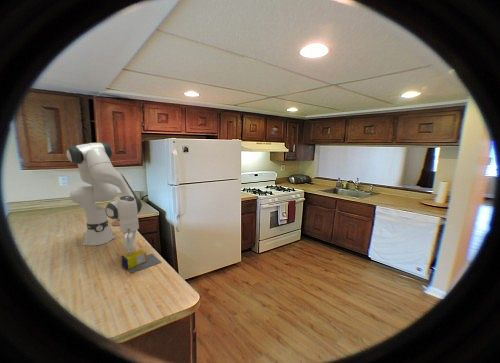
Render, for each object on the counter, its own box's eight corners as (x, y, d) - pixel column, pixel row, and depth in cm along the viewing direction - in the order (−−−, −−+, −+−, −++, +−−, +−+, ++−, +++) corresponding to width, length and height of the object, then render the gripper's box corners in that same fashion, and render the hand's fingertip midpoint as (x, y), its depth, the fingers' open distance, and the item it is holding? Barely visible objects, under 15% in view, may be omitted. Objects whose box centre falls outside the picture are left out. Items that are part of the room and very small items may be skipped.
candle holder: (114, 222, 192) (112, 199, 189) (130, 220, 196) (128, 198, 193) (110, 227, 181) (107, 203, 178) (127, 225, 185) (125, 201, 181)
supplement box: (121, 265, 122) (142, 258, 131) (126, 269, 118) (146, 261, 127) (121, 255, 121) (141, 248, 130) (125, 259, 118) (146, 252, 126)
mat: (123, 263, 126) (123, 262, 126) (152, 253, 137) (152, 253, 137) (130, 273, 116) (130, 272, 116) (161, 262, 127) (161, 262, 127)
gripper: (134, 232, 111) (136, 258, 113) (137, 219, 130) (139, 242, 132) (119, 234, 109) (122, 260, 111) (125, 221, 127) (126, 244, 129)
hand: (131, 250), depth 122 cm, fingers closed
